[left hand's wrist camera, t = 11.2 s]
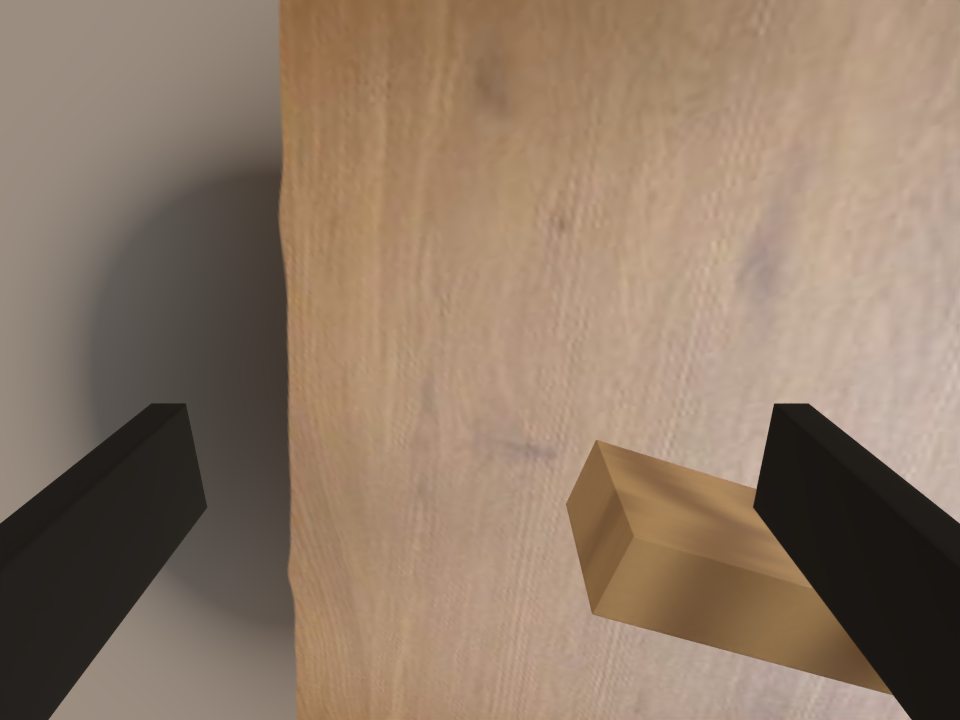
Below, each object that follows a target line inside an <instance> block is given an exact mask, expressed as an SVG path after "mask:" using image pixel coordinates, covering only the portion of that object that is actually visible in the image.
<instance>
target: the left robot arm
mask: <svg viewBox="0 0 960 720" xmlns="http://www.w3.org/2000/svg"><path fill="white" fill-rule="evenodd" d="M206 508H207V504H206V500H205V495H204V490H203V485H202V480H201V475H200V470H199V465H198V461H197V456H196V451H195V446H194V441H193V436H192V431H191V427H190V422H189V417H188V412H187V407H186V404H150V405H149V406H148V407H147V408H145V409H144V410H143V411H141V412H140V413H139V414H138V415H137V416H135V417H134V418H133V419H131V420H130V421H129V422H128V423H126V424H125V425H124V426H123V427H121V428H120V429H119V430H118V431H116V432H115V433H114V434H113V435H111V436H110V437H109V438H108V439H106V440H105V441H104V442H102V443H101V444H100V445H99V446H97V447H96V448H95V449H94V450H92V451H91V452H90V453H89V454H87V455H86V456H85V457H84V458H82V459H81V460H80V461H79V462H77V463H76V464H75V465H73V466H72V467H71V468H70V469H68V470H67V471H66V472H65V473H63V474H62V475H61V476H60V477H58V478H57V479H56V480H55V481H53V482H52V483H51V484H50V485H48V486H47V487H46V488H44V489H43V490H42V491H41V492H39V493H38V494H37V495H36V496H34V497H33V498H32V499H31V500H29V501H28V502H27V503H26V504H24V505H23V506H22V507H21V508H19V509H18V510H17V511H16V512H14V513H13V514H12V515H11V516H9V517H8V518H7V519H5V520H4V521H3V522H2V523H0V720H48V719H49V718H50V717H51V715H52V714H53V713H54V711H55V710H56V709H57V707H58V706H59V705H60V703H61V702H62V701H63V699H64V698H65V697H66V695H67V694H68V693H69V691H70V690H71V689H72V687H73V686H74V685H75V683H76V682H77V681H78V679H79V678H80V677H81V675H82V674H83V673H84V671H85V670H86V669H87V667H88V666H89V665H90V663H91V662H92V661H93V659H94V658H95V657H96V655H97V654H98V653H99V651H100V650H101V649H102V647H103V646H104V645H105V643H106V642H107V641H108V639H109V638H110V637H111V635H112V634H113V633H114V631H115V630H116V629H117V627H118V626H119V624H120V623H121V622H122V621H123V619H124V618H125V617H126V615H127V614H128V613H129V611H130V610H131V608H132V607H133V606H134V605H135V603H136V602H137V601H138V599H139V598H140V597H141V595H142V594H143V592H144V591H145V590H146V588H147V587H148V586H149V584H150V583H151V582H152V580H153V579H154V578H155V576H156V575H157V574H158V572H159V571H160V570H161V568H162V567H163V566H164V564H165V563H166V562H167V560H168V559H169V558H170V556H171V555H172V554H173V552H174V551H175V550H176V548H177V547H178V546H179V544H180V543H181V542H182V540H183V539H184V538H185V536H186V535H187V534H188V532H189V531H190V530H191V528H192V527H193V526H194V524H195V523H196V522H197V520H198V519H199V518H200V516H201V515H202V514H203V512H204V511H205V510H206ZM753 508H754V510H755V511H756V512H757V514H758V515H759V516H760V518H761V519H762V520H763V522H764V523H765V524H766V526H767V527H768V528H769V530H770V531H771V532H772V534H773V535H774V536H775V538H776V539H777V540H778V542H779V543H780V544H781V546H782V547H783V548H784V550H785V551H786V552H787V554H788V555H789V556H790V558H791V559H792V560H793V562H794V563H795V564H796V566H797V567H798V568H799V570H800V571H801V572H802V574H803V575H804V576H805V578H806V579H807V580H808V582H809V583H810V584H811V586H812V587H813V588H814V590H815V591H816V592H817V594H818V595H819V597H820V598H821V599H822V601H823V602H824V603H825V605H826V606H827V607H828V609H829V610H830V611H831V613H832V614H833V615H834V617H835V618H836V619H837V621H838V622H839V623H840V625H841V626H842V627H843V629H844V630H845V631H846V633H847V634H848V635H849V637H850V638H851V639H852V641H853V642H854V643H855V645H856V646H857V647H858V649H859V650H860V651H861V653H862V654H863V655H864V657H865V658H866V659H867V661H868V662H869V663H870V665H871V666H872V667H873V669H874V670H875V671H876V673H877V674H878V675H879V677H880V678H881V679H882V681H883V682H884V683H885V685H886V686H887V687H888V689H889V690H890V691H891V693H892V694H893V695H894V697H895V698H896V699H897V701H898V702H899V703H900V705H901V706H902V707H903V709H904V710H905V711H906V713H907V714H908V715H909V717H910V718H911V719H912V720H960V523H958V522H957V521H956V520H955V519H953V518H952V517H951V516H950V515H948V514H947V513H946V512H944V511H943V510H942V509H941V508H939V507H938V506H937V505H936V504H934V503H933V502H932V501H931V500H929V499H928V498H927V497H926V496H924V495H923V494H922V493H921V492H919V491H918V490H917V489H916V488H914V487H913V486H912V485H910V484H909V483H908V482H907V481H905V480H904V479H903V478H902V477H900V476H899V475H898V474H897V473H895V472H894V471H893V470H892V469H890V468H889V467H888V466H887V465H885V464H884V463H883V462H882V461H880V460H879V459H878V458H876V457H875V456H874V455H873V454H871V453H870V452H869V451H868V450H866V449H865V448H864V447H863V446H861V445H860V444H859V443H858V442H856V441H855V440H854V439H853V438H851V437H850V436H849V435H847V434H846V433H845V432H844V431H842V430H841V429H840V428H839V427H837V426H836V425H835V424H834V423H832V422H831V421H830V420H829V419H827V418H826V417H825V416H824V415H822V414H821V413H820V412H819V411H817V410H816V409H815V408H813V407H812V406H811V405H810V404H774V407H773V412H772V417H771V422H770V426H769V431H768V436H767V441H766V446H765V451H764V456H763V461H762V465H761V470H760V475H759V480H758V485H757V490H756V495H755V499H754V504H753Z"/></svg>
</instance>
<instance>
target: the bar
mask: <svg viewBox="0 0 960 720" xmlns="http://www.w3.org/2000/svg"><path fill="white" fill-rule="evenodd" d="M756 490H757V489H754V488H750V487H747V486H744V485H741V484H737V483H734V482H731V481H728V480H724V479H721V478H718V477H715V476H711V475H708V474H705V473H702V472H698V471H695V470H692V469H689V468H685V467H682V466H679V465H676V464H673V463H669V462H666V461H663V460H660V459H656V458H653V457H650V456H647V455H643V454H640V453H637V452H634V451H630V450H627V449H624V448H621V447H617V446H614V445H611V444H608V443H604V442H601V441H598V440H596V441H595V443H594V446H593V448H592V450H591V452H590V454H589V456H588V458H587V460H586V463H585V465H584V467H583V469H582V471H581V473H580V475H579V478H578V480H577V482H576V484H575V486H574V488H573V490H572V492H571V495H570V497H569V499H568V501H567V503H566V506H567V510H568V514H569V519H570V523H571V527H572V531H573V535H574V540H575V544H576V548H577V552H578V556H579V561H580V565H581V569H582V573H583V577H584V582H585V586H586V590H587V594H588V598H589V603H590V607H591V611H592V614H593V615H597V616H601V617H604V618H608V619H612V620H615V621H619V622H623V623H627V624H630V625H634V626H638V627H642V628H645V629H649V630H653V631H656V632H660V633H664V634H668V635H671V636H675V637H679V638H682V639H686V640H690V641H694V642H697V643H701V644H705V645H708V646H712V647H716V648H720V649H723V650H727V651H731V652H734V653H738V654H742V655H746V656H749V657H753V658H757V659H760V660H764V661H768V662H772V663H775V664H779V665H783V666H786V667H790V668H794V669H798V670H801V671H805V672H809V673H812V674H816V675H820V676H824V677H827V678H831V679H835V680H838V681H842V682H846V683H850V684H853V685H857V686H861V687H865V688H868V689H872V690H876V691H879V692H883V693H887V694H891V695H893V694H892V693H891V691H890V690H889V689H888V687H887V686H886V685H885V683H884V682H883V681H882V679H881V678H880V677H879V675H878V674H877V673H876V671H875V670H874V669H873V667H872V666H871V665H870V663H869V662H868V661H867V659H866V658H865V657H864V655H863V654H862V653H861V651H860V650H859V649H858V647H857V646H856V645H855V643H854V642H853V641H852V639H851V638H850V637H849V635H848V634H847V633H846V631H845V630H844V629H843V627H842V626H841V625H840V623H839V622H838V621H837V619H836V618H835V617H834V615H833V614H832V613H831V611H830V610H829V609H828V607H827V606H826V605H825V603H824V602H823V601H822V599H821V598H820V597H819V595H818V594H817V592H816V591H815V590H814V588H813V587H812V586H811V584H810V583H809V582H808V580H807V579H806V578H805V576H804V575H803V574H802V572H801V571H800V570H799V568H798V567H797V566H796V564H795V563H794V562H793V560H792V559H791V558H790V556H789V555H788V554H787V552H786V551H785V550H784V548H783V547H782V546H781V544H780V543H779V542H778V540H777V539H776V538H775V536H774V535H773V534H772V532H771V531H770V530H769V528H768V527H767V526H766V524H765V523H764V522H763V520H762V519H761V518H760V516H759V515H758V514H757V512H756V511H755V510H754V508H753V504H754V499H755V495H756Z"/></svg>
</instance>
